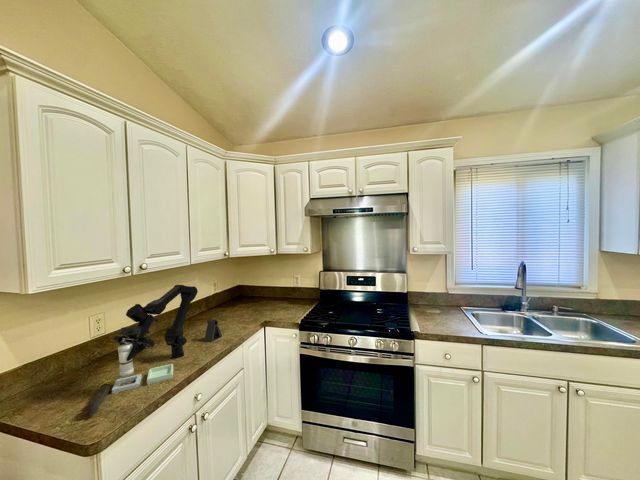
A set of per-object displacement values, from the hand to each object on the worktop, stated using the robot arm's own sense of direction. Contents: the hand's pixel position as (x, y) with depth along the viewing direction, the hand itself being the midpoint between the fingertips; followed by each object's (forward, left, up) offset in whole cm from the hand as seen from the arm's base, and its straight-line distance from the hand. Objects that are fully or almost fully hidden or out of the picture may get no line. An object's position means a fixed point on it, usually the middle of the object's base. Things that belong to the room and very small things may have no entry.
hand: (122, 360), depth 121 cm
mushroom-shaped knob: (-1, +1, -7) cm, 7 cm away
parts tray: (-2, +14, -12) cm, 18 cm away
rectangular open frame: (-1, +1, -12) cm, 12 cm away
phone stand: (-38, +40, -12) cm, 57 cm away
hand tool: (+10, -6, -12) cm, 17 cm away
